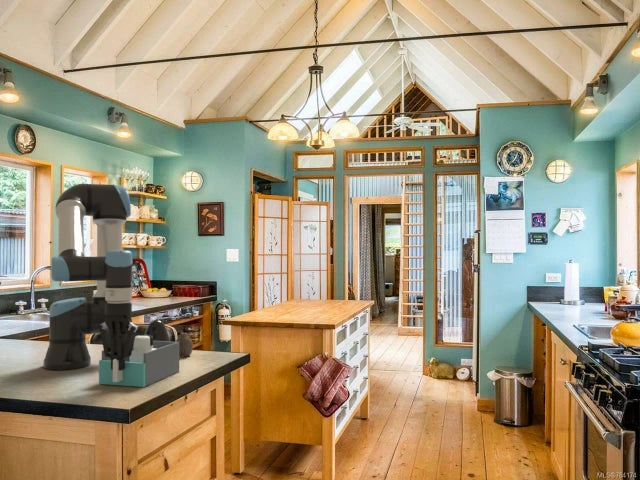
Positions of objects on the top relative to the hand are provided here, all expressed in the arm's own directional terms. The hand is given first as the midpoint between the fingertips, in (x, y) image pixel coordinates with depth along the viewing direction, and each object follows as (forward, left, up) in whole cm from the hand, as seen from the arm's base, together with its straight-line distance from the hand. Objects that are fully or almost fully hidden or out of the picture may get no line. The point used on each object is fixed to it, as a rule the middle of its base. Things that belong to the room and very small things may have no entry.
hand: (117, 380), depth 163 cm
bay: (0, +12, -2) cm, 12 cm away
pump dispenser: (-9, +36, -2) cm, 37 cm away
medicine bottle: (0, +13, -1) cm, 13 cm away
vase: (-4, +47, -2) cm, 47 cm away
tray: (0, +12, -2) cm, 12 cm away
